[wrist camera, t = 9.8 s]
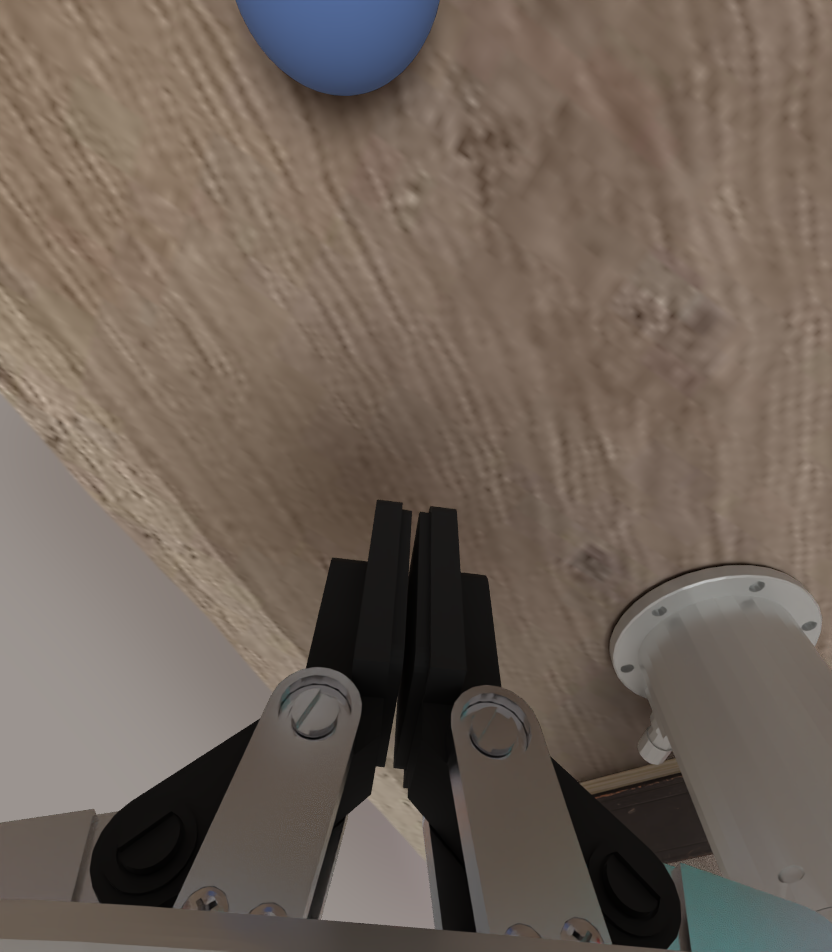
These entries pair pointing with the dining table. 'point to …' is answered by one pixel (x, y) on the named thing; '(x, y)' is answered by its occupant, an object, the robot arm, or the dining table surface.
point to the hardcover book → (654, 809)
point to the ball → (340, 39)
